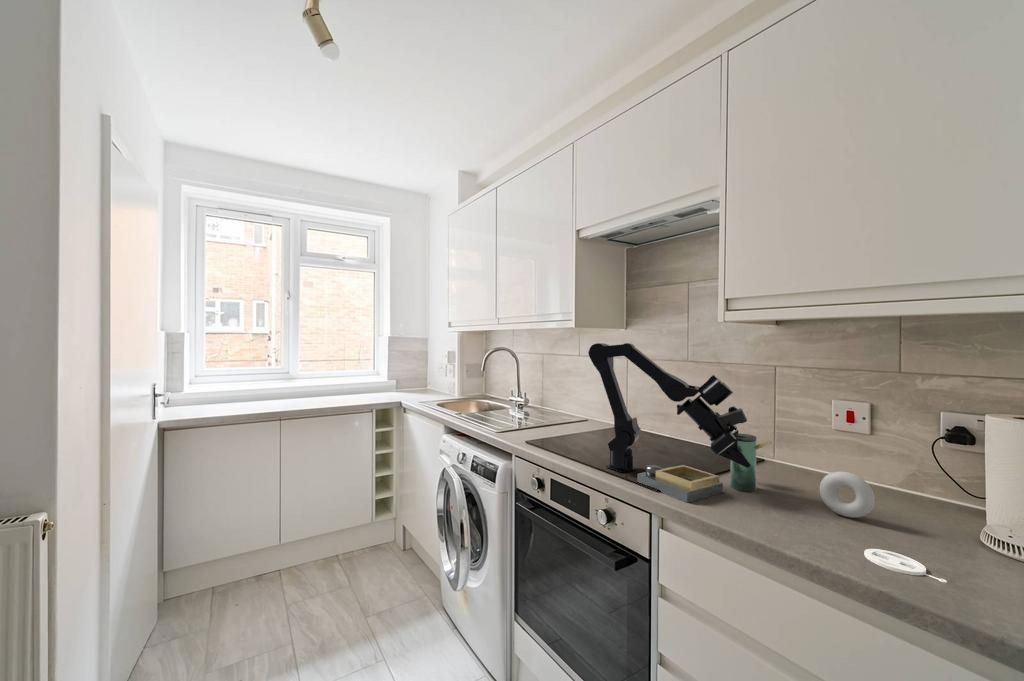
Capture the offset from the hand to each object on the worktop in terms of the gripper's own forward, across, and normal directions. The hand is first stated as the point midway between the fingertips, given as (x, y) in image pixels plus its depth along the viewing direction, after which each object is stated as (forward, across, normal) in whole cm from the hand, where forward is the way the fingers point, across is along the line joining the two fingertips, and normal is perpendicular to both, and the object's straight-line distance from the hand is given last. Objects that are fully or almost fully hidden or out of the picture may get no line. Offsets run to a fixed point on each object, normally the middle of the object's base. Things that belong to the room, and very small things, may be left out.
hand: (749, 462), depth 111 cm
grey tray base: (-6, -8, +17) cm, 20 cm away
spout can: (+5, 0, +5) cm, 7 cm away
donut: (+19, -9, -8) cm, 22 cm away
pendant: (+22, -30, -11) cm, 39 cm away
